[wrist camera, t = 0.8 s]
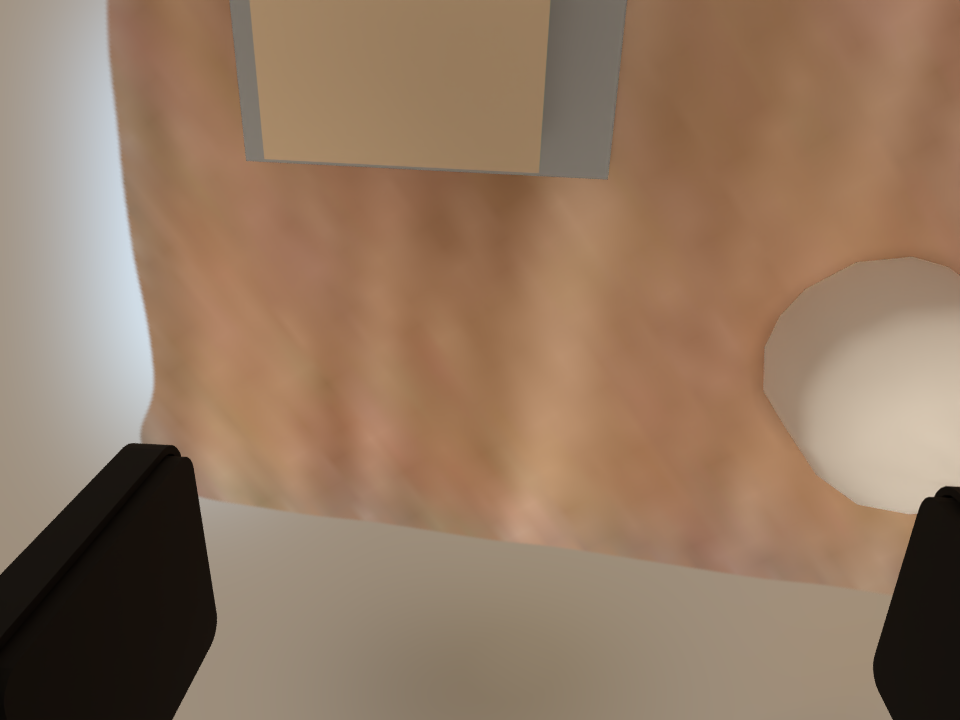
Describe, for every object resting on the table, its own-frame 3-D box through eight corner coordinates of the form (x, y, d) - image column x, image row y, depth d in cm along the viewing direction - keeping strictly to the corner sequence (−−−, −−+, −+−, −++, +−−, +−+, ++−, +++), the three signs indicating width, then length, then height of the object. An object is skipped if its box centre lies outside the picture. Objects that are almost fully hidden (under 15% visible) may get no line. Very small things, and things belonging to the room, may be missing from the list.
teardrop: (980, 223, 35) (1167, 331, 25) (1002, 419, 40) (1169, 584, 29) (738, 296, 38) (812, 424, 27) (784, 473, 42) (862, 642, 32)
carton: (293, -114, 29) (236, -134, 24) (557, -106, 29) (559, -125, 23) (309, 129, 33) (264, 159, 28) (541, 141, 33) (539, 173, 27)
